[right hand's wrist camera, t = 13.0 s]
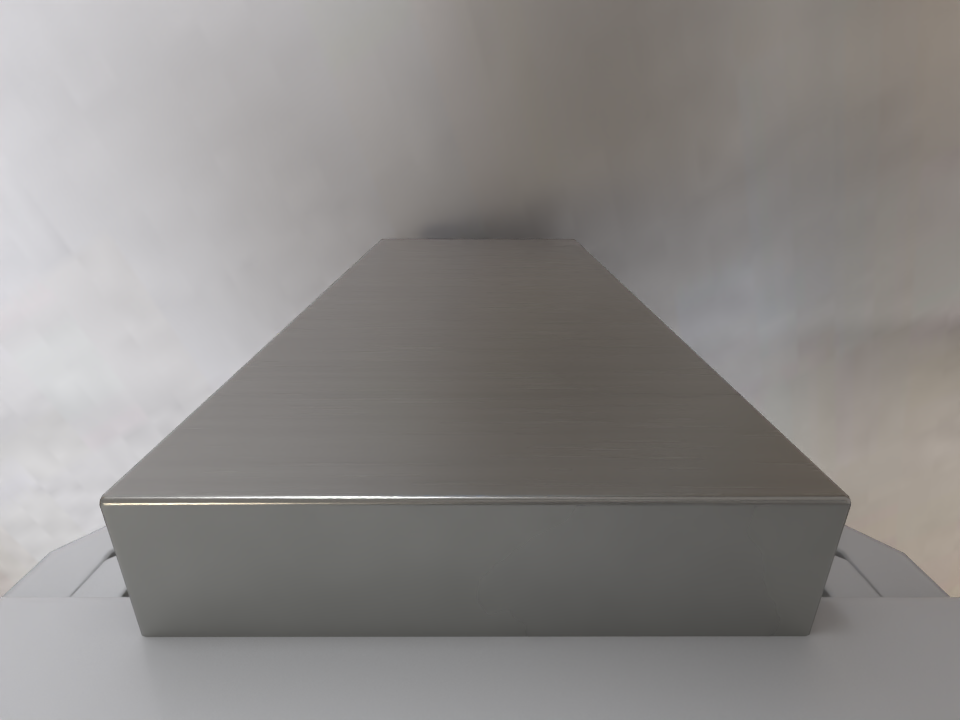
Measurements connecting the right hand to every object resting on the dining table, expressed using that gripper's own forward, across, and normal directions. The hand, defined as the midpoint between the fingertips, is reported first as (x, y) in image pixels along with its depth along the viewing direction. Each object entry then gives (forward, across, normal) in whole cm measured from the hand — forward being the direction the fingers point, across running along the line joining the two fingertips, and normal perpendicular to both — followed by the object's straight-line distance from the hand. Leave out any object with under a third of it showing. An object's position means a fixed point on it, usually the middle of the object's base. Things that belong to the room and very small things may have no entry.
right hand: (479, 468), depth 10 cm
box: (+8, 0, -9) cm, 12 cm away
